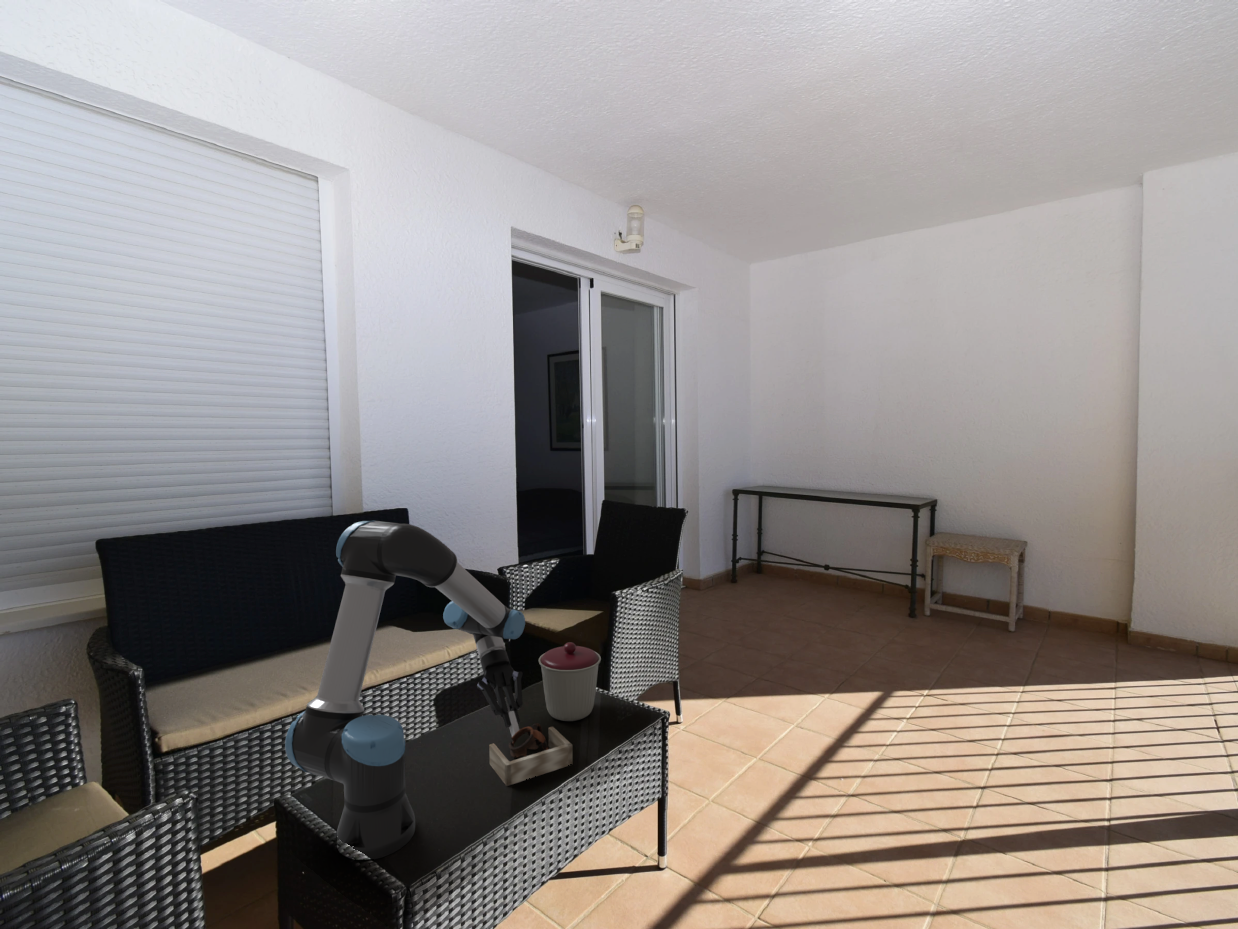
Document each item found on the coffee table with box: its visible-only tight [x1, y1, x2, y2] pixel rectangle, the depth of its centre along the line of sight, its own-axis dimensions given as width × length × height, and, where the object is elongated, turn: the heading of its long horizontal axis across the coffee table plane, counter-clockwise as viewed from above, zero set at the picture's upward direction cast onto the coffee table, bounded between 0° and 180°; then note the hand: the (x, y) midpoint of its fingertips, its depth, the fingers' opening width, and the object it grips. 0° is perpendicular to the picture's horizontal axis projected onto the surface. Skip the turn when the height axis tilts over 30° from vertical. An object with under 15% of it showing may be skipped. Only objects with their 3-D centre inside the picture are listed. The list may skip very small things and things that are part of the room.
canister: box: [538, 641, 602, 722], centre depth 181 cm, size 18×18×21 cm
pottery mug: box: [508, 722, 550, 758], centre depth 159 cm, size 12×10×8 cm
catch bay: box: [488, 726, 574, 787], centre depth 154 cm, size 17×11×5 cm, turn 122°
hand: (516, 737), depth 161 cm, fingers closed
